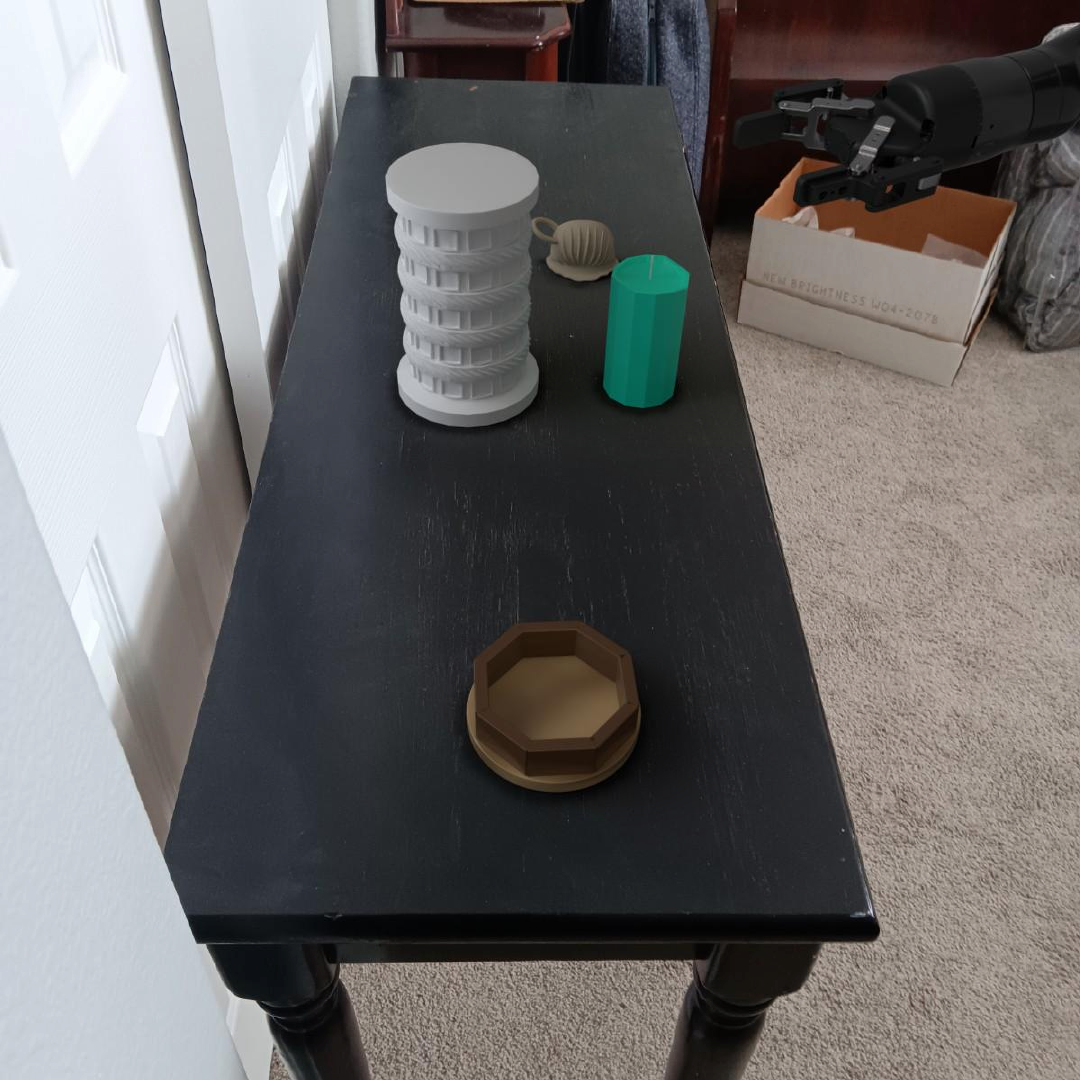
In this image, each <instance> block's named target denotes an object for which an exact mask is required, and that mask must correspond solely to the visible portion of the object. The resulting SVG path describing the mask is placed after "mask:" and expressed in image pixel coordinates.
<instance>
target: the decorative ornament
mask: <svg viewBox="0 0 1080 1080" xmlns="http://www.w3.org/2000/svg"><path fill="white" fill-rule="evenodd" d="M531 220H532V227H533V229H532V232H533V234H534V235H535V236H536V237H537V238H539V240H541V241H543V242H545V243H547V244H550V252H549V255H547V257H546V258H545V262H546V265H547V267H548V268H549V269H550V270H551V271H553V272H554V273H555V274H557V275H560V276H562V277H563V278H564V279H570V280H572V281H574V282H577V283H578V282H579V283H580V282H581V283H582V282H595V281H597V280H599V279H600V278H602V277H607V276H609V273H611V272H612V273H613V270H614V267H615V266H616V265H618V264H619V263H620V262H619V259H618V258H616V251H615V241H614V235H613V233H612V231H611V230H610V228H609V227H608V226H607V225H605V224H604V223H602V222H600V221H597V220H592V219H591V220H590V219H574V220H573V219H572V220H568V221H566V222H563V223H561V224H560V225H559V224H558V223H557V222H556V221H554V220H552V219H550V218H548V217H544V216H535V217H534V218H533V219H531ZM537 224H543V225H545V226H547V227H549V228H551V229H552V230H553V234H552V236H549V235H547V234H545V233H543V232H542V231H541V230H540V229H539V228H538V227H537Z"/></svg>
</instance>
